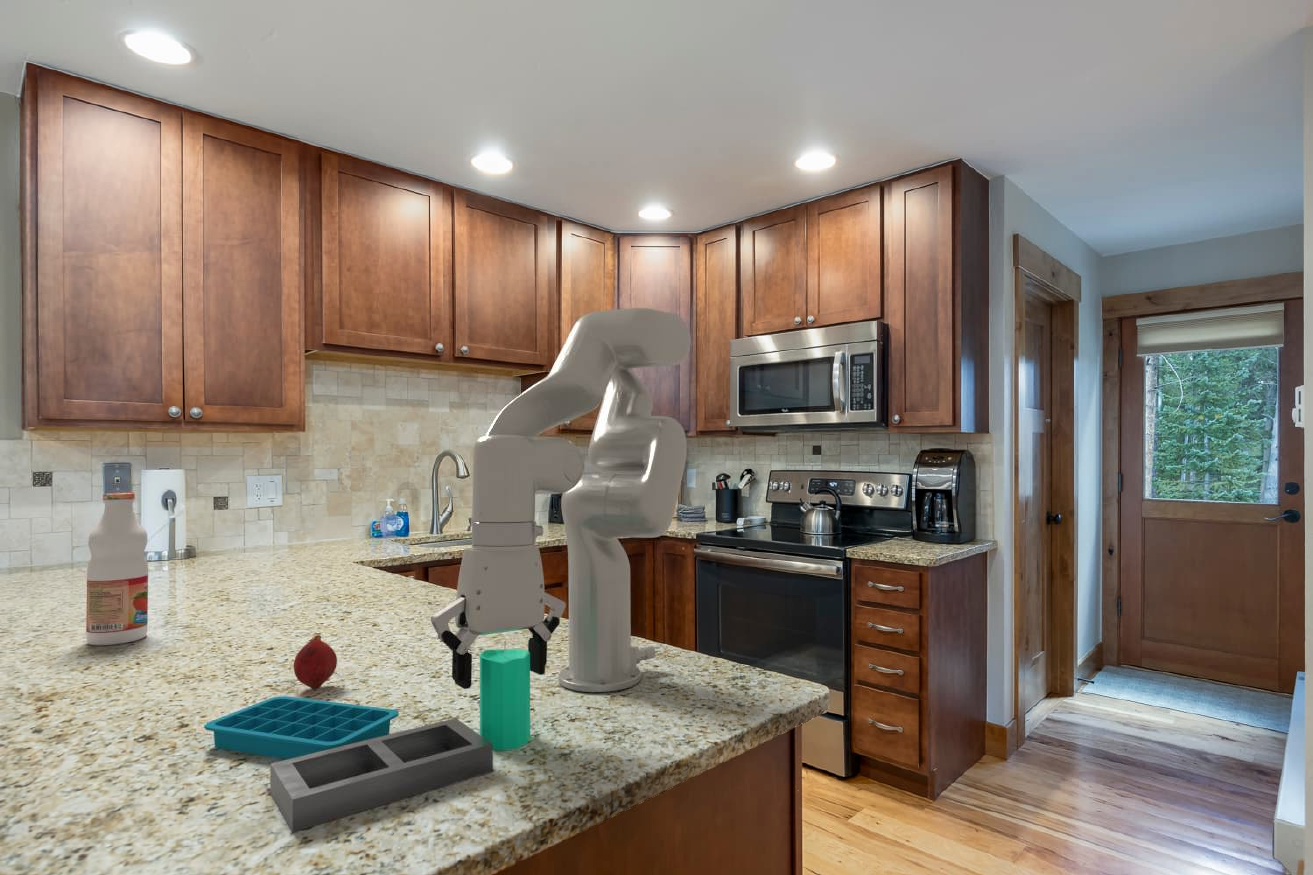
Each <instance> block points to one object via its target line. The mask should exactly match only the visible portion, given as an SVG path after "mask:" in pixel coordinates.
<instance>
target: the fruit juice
mask: <svg viewBox="0 0 1313 875" xmlns="http://www.w3.org/2000/svg"><path fill="white" fill-rule="evenodd" d="M102 495H103V496H102V500H103V501H102V502H103V504H104V510H103V514H102V517H101V519H100V522H99V523H98V524H97V526H96V527H95V528H94V529H93V530H92V531H91V532H90V534H89V536H88V542H87V543H88V545H87V546H88V548H89V552H90V555H91V557H90V561H89V562H88V565H87V569H86V611H85V612H86V614H85V615H86V617H85V618H86V619H85V620H86V626H85V628H86V629H85V637H86V642H87V644H88V645H90V646H114V645H119V644H120V645H121V644H127V643H132V642H135V641H139V640H142V639H144V638H146V636H147V633H148V622H149V620H148V619H149V618H148V617H149V615H148V612H149V611H148V609H149V608H148V607H149V606H148V605H149V603H148V602H149V597H148V596H149V564H148V563H149V562H148V558H147V557H146V554H145V550H146V547H147V545H148V534H147V533H148V532H147V530H146V529H145V527H143V526H142V525H141V524H140V523H139V522H138V520H137V517H136V514H135V512H134V508H133V505H134V504H133V503H134V502H135V499H136V496H135V493H134V492H115V493H113V492H112V493H104V494H102Z"/></svg>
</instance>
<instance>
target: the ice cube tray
mask: <svg viewBox="0 0 1313 875" xmlns="http://www.w3.org/2000/svg"><path fill="white" fill-rule="evenodd" d="M398 716H399V710H397V709H392V708H390V709H389V708H385V707H384V708H381V707H376V706H370V705H369V706H367V705H359V704H351V703H345V702H344V703H342V702H336V701H335V702H334V701H327V700H321V699H319V700H318V699H311V698H303V697H296V696H295V697H294V696H288V695H286V696H285V695H282V696H274V697H270V698H268V699H265V700H263V701H260V702H258V703H255V704H252V705H250V706H247V707H245V708H242V709H239V710H237V711H234V712H232V713H231V712H230V713H229V714H226V715H223V716H221V717H220V718H219V717H218V718H216V719H214V720H211V721H209V722H208V721H207V722H206V723H205V724H204V726H203V728H204V729H205V730H206V731H210V732H213V740H214V747H215V748H217V749H219V750H226V751H231V752H232V751H233V752H236V753H237V752H238V753H239V752H240V753H243V752H244V753H245V754H250V753H252V754H251V755H256V754H257V756H263V757H269V758H275V759H281V760H288V759H292V758H296V757H300V756H304V755H308V754H312V753H316V752H320V751H324V750H328V749H332V748H336V747H341V746H345V745H349V744H353V743H357V742H361V741H365V740H369V739H373V738H377V737H381V736H385V735H389V734H390V727H391V721H392V720H394V719H396V718H397V717H398Z"/></svg>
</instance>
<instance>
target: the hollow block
mask: <svg viewBox="0 0 1313 875" xmlns="http://www.w3.org/2000/svg"><path fill="white" fill-rule="evenodd" d="M493 772H494V750H493V744H492V743H491V742H489V741H488V740H487V739H485V738H484V737H482V736H481V735H480V733H478V732H476V731H475V730H474V729H472V728H470V727H469V726H468V725H466V724H465V723H463V722H462V721H460V720H459V719H457V717H455V718H451V719H446V720H443V721H439V722H435V723H431V724H427V725H422V726H418V727H414V728H411V729H407V730H403V731H399V732H394V733H389V735H385V736H381V737H377V738H373V739H369V740H365V741H361V742H357V743H353V744H349V745H345V746H341V747H336V748H332V749H328V750H324V751H320V752H316V753H312V754H308V755H304V756H300V757H296V758H292V759H288V760H287V759H282V760H280V761H276V762H273V763H270V773H269V774H270V782H269V783H270V784H269V786H270V789H269V790H270V795H271V797H272V798H273V800H274V802H275V804H276V806H277V805H278V806H277V808H278V807H279V808H278V809H279V811H280V813H281V814H282V816H284V817H283V818H284V820H285V821H286V824H287V825H288V827H289V829H290V831H291V832H292V833H296V832H299V831H302V830H305V829H308V828H312V827H314V826H319V825H322V824H325V823H328V822H331V821H335V820H337V819H342V818H345V817H347V816H351V815H354V814H358V813H361V812H364V811H367V810H368V811H369V810H371V809H374V808H376V807H381V806H385V805H387V804H390V803H394V802H397V801H401V800H405V799H407V798H410V797H411V798H412V797H413V796H417V795H421V794H423V793H427V792H430V791H434V790H437V789H440V788H443V787H446V786H450V785H453V784H457V783H459V782H463V781H466V780H469V779H472V778H476V777H479V776H482V775H486V774H489V773H493ZM312 787H313V788H312Z"/></svg>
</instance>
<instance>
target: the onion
mask: <svg viewBox="0 0 1313 875" xmlns="http://www.w3.org/2000/svg"><path fill="white" fill-rule="evenodd" d="M321 639H322V636H321V635H320V634H315V635H313V636H312V637H311V639H310V640H309V641H308V642H307V643H306V644H305V645H303V646H302V648H300V650H299V651H298V652H297V654H296V656H295V657H294V661H293V671H294V672H293V673H294V675H295V677H296V679H297V680H298V681H299V682H300V683H301V684H302V685H304V686H305V687H308V688H311V689H312V690H317V689H319V688H321V687H322V685H324V683H325V682H327V681H328V680H329V679H330V678H331V677H332V676H333V675H334V673H335V671H336V669H337V665H338V664H337V663H338V656H337V655H336V652H335V650H334V649H333V648H332V647H331V646H330V645H329V644H328V643H326V642H324V641H323V640H321Z"/></svg>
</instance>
